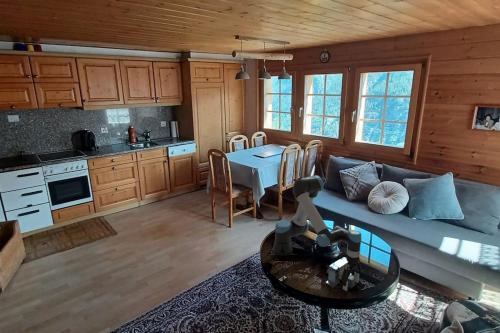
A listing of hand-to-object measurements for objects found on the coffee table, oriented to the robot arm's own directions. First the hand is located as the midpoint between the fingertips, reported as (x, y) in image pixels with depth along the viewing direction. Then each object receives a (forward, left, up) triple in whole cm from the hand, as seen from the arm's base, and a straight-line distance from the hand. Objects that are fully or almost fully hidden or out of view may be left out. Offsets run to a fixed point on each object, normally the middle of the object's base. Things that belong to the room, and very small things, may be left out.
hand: (350, 285), depth 181 cm
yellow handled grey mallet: (-8, 0, 0) cm, 8 cm away
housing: (-9, 0, 0) cm, 9 cm away
